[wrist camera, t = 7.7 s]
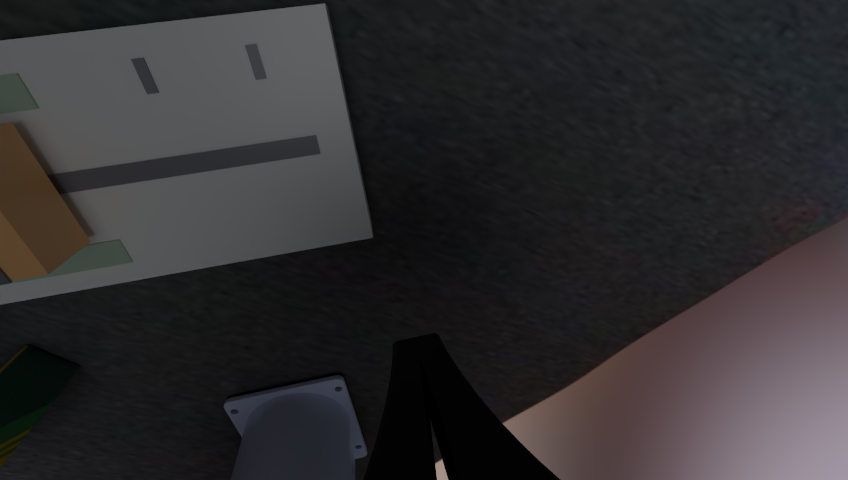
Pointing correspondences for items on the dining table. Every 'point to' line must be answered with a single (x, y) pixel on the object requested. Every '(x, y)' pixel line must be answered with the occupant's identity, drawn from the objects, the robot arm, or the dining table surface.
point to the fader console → (188, 142)
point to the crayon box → (28, 393)
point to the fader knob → (31, 215)
